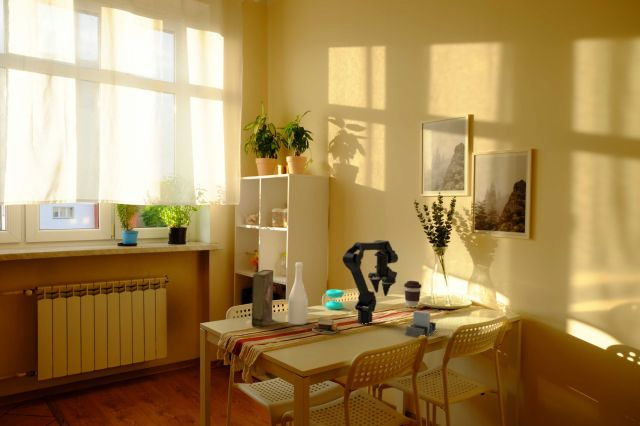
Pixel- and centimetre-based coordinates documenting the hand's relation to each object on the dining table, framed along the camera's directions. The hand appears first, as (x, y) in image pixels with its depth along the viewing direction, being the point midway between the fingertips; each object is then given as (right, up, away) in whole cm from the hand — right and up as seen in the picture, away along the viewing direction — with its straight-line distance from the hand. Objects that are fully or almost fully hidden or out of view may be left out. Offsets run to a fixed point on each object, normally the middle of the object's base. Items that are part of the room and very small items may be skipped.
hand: (381, 294), depth 265 cm
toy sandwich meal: (-30, -14, -26) cm, 42 cm away
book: (-60, -12, -14) cm, 63 cm away
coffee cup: (+22, -13, +32) cm, 41 cm away
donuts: (-24, -12, +23) cm, 35 cm away
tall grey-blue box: (+16, -13, -25) cm, 33 cm away
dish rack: (+16, -14, -25) cm, 33 cm away
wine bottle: (-43, -12, -13) cm, 47 cm away
